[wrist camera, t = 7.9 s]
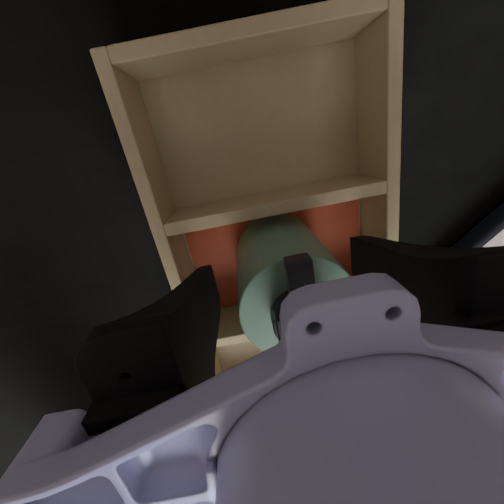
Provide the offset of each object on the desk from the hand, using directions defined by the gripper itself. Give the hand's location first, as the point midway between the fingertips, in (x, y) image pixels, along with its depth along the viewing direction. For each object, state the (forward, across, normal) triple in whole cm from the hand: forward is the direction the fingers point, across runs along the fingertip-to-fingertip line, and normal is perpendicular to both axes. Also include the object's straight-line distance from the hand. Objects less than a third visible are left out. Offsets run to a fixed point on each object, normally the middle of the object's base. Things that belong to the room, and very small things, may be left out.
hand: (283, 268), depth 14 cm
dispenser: (+2, 0, 0) cm, 2 cm away
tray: (+3, 0, 0) cm, 3 cm away
